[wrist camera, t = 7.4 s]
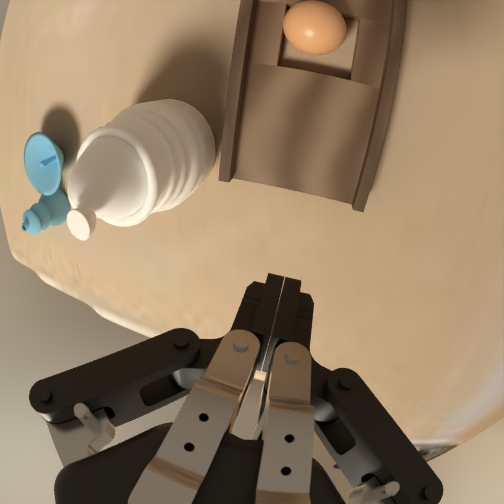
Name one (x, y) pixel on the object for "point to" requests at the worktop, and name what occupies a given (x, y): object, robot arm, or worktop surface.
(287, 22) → the ball
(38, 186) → the light blue flared piece
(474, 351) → the worktop surface
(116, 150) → the honey pot
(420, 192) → the worktop surface
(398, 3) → the track
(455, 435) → the worktop surface
